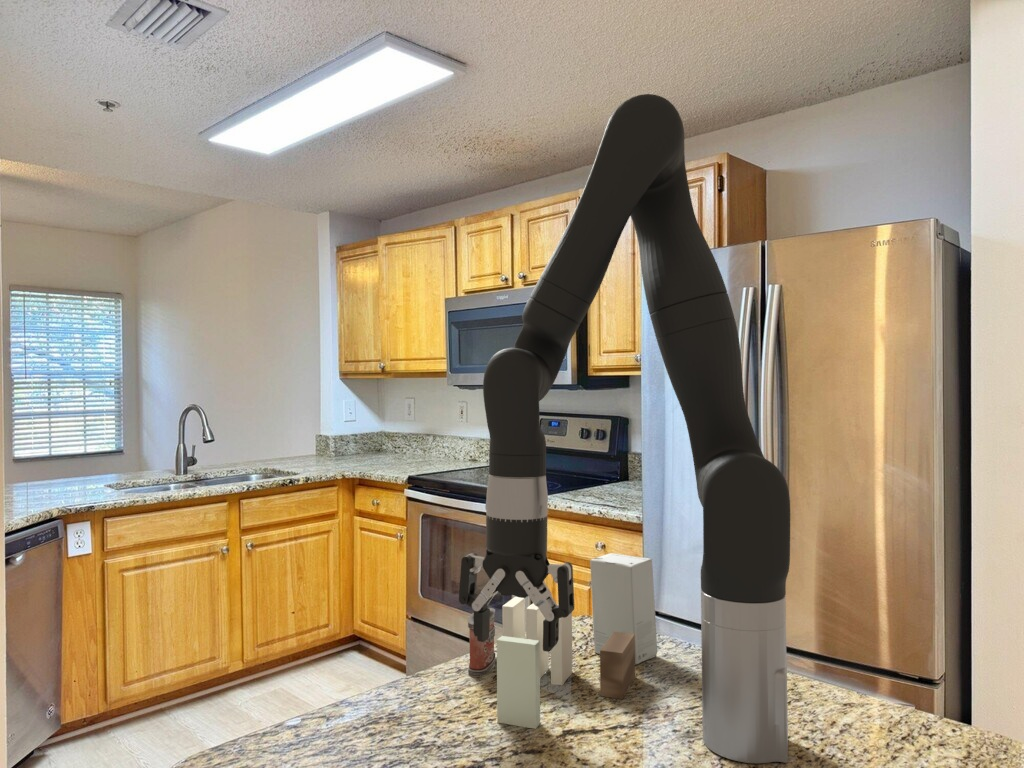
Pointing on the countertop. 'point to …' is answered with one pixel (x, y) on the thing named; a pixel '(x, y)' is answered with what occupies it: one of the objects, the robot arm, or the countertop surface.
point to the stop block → (617, 665)
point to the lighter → (481, 649)
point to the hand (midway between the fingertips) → (515, 644)
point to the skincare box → (624, 602)
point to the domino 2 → (518, 681)
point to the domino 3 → (537, 634)
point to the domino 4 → (562, 652)
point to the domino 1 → (514, 618)
